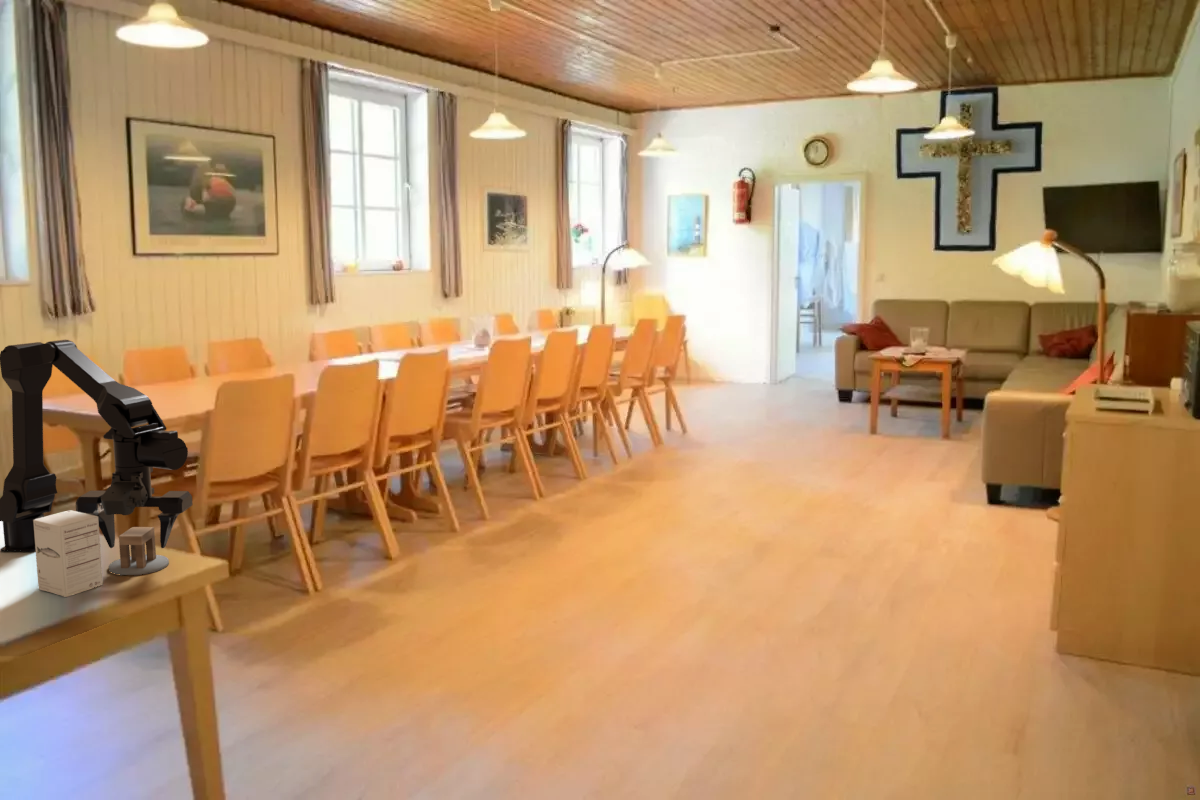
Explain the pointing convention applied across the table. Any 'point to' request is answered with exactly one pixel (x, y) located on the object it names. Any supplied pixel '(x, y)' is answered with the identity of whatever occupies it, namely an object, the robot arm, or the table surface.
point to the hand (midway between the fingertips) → (137, 547)
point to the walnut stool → (137, 546)
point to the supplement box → (68, 552)
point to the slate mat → (133, 570)
